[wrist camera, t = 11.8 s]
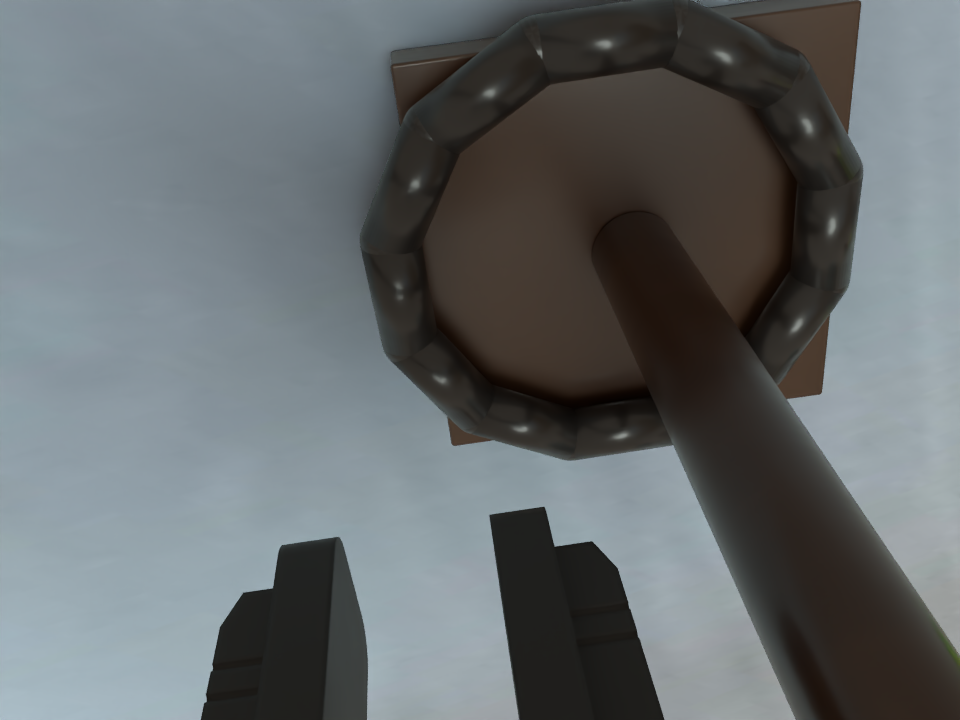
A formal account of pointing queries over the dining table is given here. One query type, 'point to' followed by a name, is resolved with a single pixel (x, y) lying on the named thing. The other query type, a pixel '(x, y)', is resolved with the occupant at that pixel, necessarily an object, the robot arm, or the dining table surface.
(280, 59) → the dining table surface
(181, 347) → the dining table surface
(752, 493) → the post
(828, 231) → the ring
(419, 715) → the dining table surface
